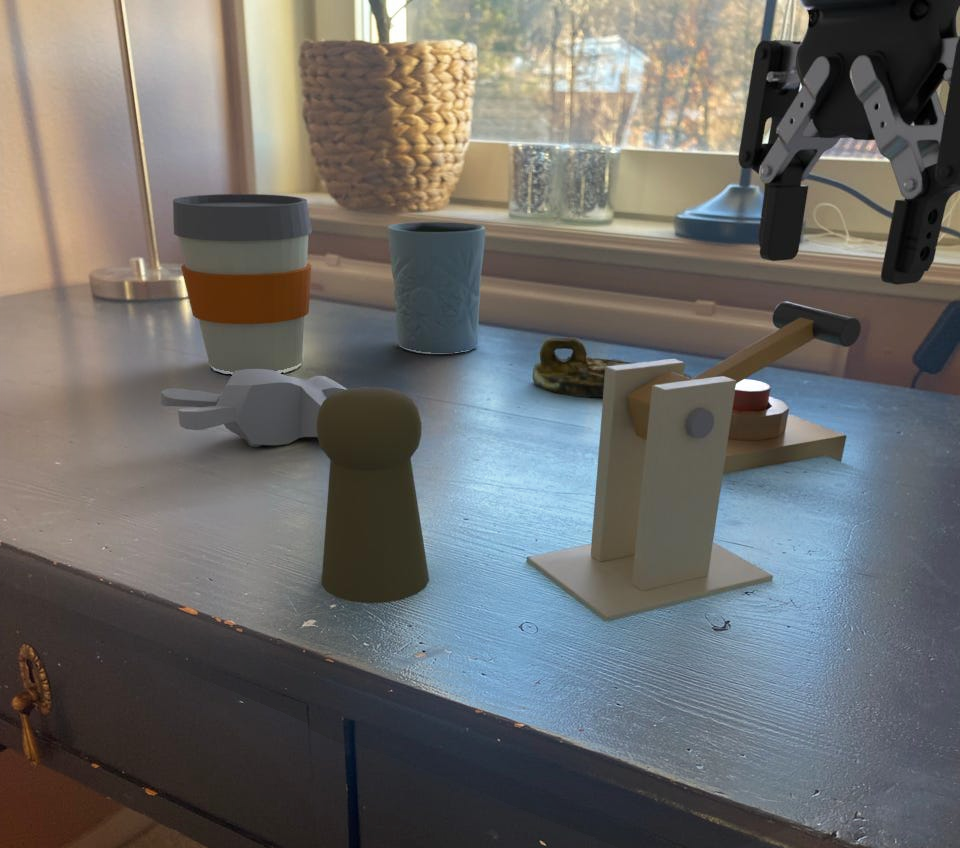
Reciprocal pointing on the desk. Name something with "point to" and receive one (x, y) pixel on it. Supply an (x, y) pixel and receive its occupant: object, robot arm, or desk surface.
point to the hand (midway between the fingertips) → (835, 270)
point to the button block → (777, 439)
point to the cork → (371, 496)
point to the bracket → (655, 500)
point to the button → (751, 396)
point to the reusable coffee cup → (247, 276)
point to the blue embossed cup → (437, 284)
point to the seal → (572, 369)
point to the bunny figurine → (257, 406)
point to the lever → (759, 352)
